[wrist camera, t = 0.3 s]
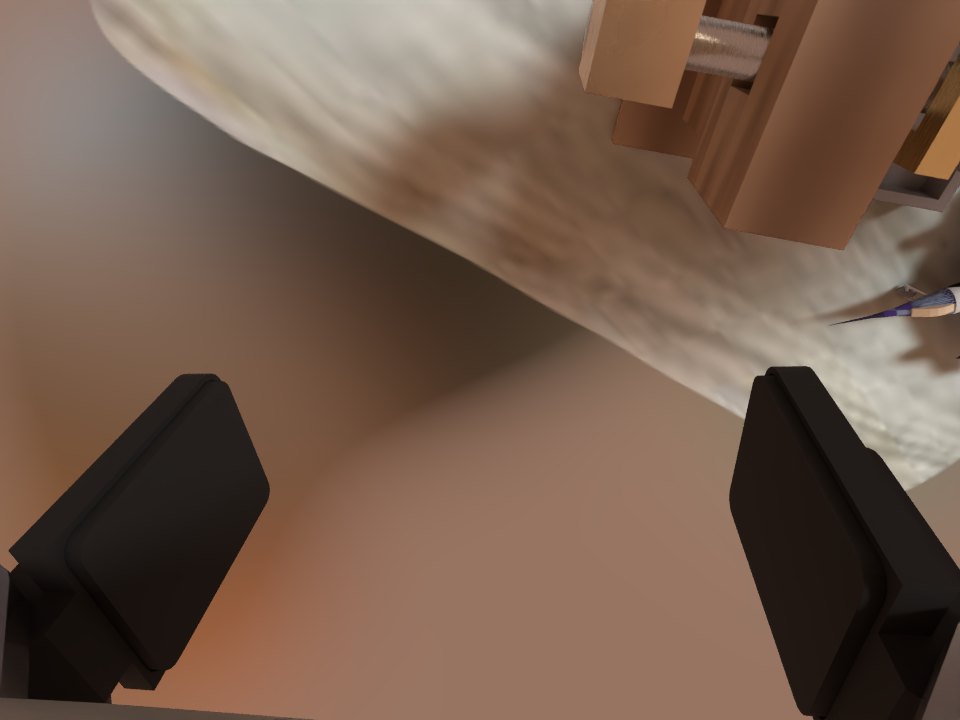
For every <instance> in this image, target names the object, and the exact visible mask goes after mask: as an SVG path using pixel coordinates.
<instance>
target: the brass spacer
mask: <svg viewBox="0 0 960 720" xmlns="http://www.w3.org/2000/svg"><path fill="white" fill-rule="evenodd" d="M958 45H959V46H960V42H959V44H958ZM959 161H960V54H959V55H958V57H957V59H956V61H955V62H954V64H953V66H952V68H951V70H950V71H949V73H948V75H947V77H946V78H945V80H944V82H943V84H942V86H941V87H940V89H939V91H938V93H937V95H936V96H935V98H934V100H933V102H932V103H931V105H930V107H929V109H928V111H927V112H926V114H925V116H924V118H923V119H922V121H921V123H920V125H919V126H917V125H915V124H914V125H913V126H912V128H911V130H910V132H909V134H908V135H907V137H906V139H905V141H904V143H903V144H902V146H901V148H900V150H899V152H898V153H897V155H896V157H895V159H894V161H893V162H892V163H894V164H896V165H898V166H900V167H902V168H904V169H906V170H908V171H910V172H912V173H914V174H920V175H925V176H930V177H936V178H941V179H947V180H948V179H949V177H950V176H951V174H952V173H953V171H954V169H955V168H956V166H957V165H958V163H959Z"/></svg>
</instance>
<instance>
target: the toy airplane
mask: <svg viewBox="0 0 960 720" xmlns="http://www.w3.org/2000/svg"><path fill="white" fill-rule="evenodd" d="M917 292H918V293H920V294H922V295H925V296H924V297H921V298H918V299H916V300H913V299H911V298H909V297H913V296H915V295H916V293H917ZM897 295H898V296H900V297H903V298H906V299H908V300H910V301H911V302H908V303H906V304H903V305H901V306H898V307H896V308H893V309H890V310H887V311H884V312H881V313H878V314H875V315H872V316H867V317H863V318H859V319H854V320H850V321H846V322H852V321H858V320H863V319H869V318H879V317H889V316H911V317H934V316H941V315H952V314H955V313H958V312H960V283H957V284H954V285H951V286H949V287H946V288H944V289H941V290H939V291H936V292H934V293H931V294H929V295H928V294H926V293H924V292H922V291H919V290H917V289H915V288H913V287H911V286H909V285H905V287H901V288H899V289H898V290H897ZM846 322H841V323H846ZM841 323H837V324H841ZM833 325H835V324H833ZM828 326H829V325H828ZM957 358H958V359H960V356H959V357H957Z"/></svg>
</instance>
